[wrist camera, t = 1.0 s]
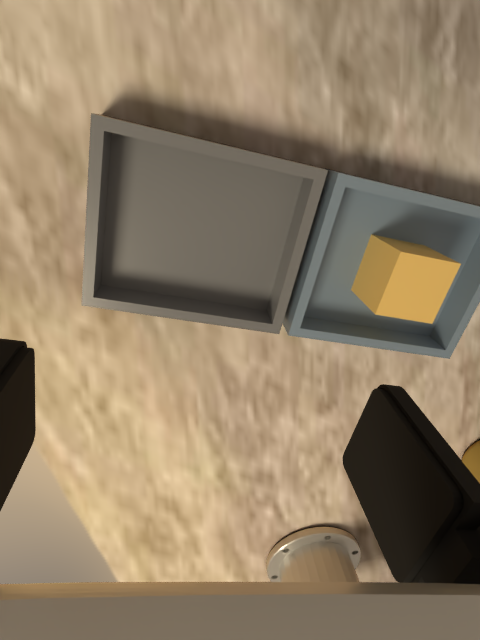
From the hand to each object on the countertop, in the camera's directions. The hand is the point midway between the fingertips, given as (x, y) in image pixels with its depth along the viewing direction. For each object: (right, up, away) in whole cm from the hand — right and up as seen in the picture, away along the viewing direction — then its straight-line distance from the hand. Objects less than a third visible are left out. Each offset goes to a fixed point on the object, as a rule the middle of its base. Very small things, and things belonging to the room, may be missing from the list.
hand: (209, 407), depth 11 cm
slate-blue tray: (+14, +7, +23) cm, 27 cm away
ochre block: (+14, +7, +23) cm, 27 cm away
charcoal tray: (-2, +9, +20) cm, 22 cm away
